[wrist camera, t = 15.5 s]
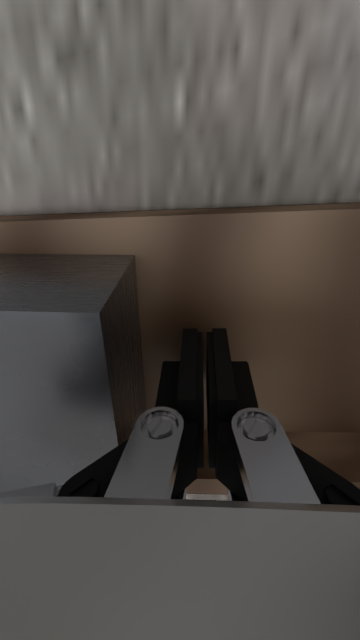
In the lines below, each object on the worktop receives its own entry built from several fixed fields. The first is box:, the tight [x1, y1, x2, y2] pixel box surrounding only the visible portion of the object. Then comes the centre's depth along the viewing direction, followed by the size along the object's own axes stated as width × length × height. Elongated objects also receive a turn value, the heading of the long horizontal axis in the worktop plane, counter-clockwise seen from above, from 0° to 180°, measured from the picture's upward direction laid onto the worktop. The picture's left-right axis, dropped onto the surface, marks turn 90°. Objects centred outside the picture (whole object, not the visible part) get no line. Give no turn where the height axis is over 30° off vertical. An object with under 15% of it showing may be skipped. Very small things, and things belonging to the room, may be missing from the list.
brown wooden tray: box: [0, 203, 360, 495], centre depth 13 cm, size 28×11×4 cm, turn 93°
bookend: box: [0, 253, 147, 493], centre depth 11 cm, size 6×8×4 cm
